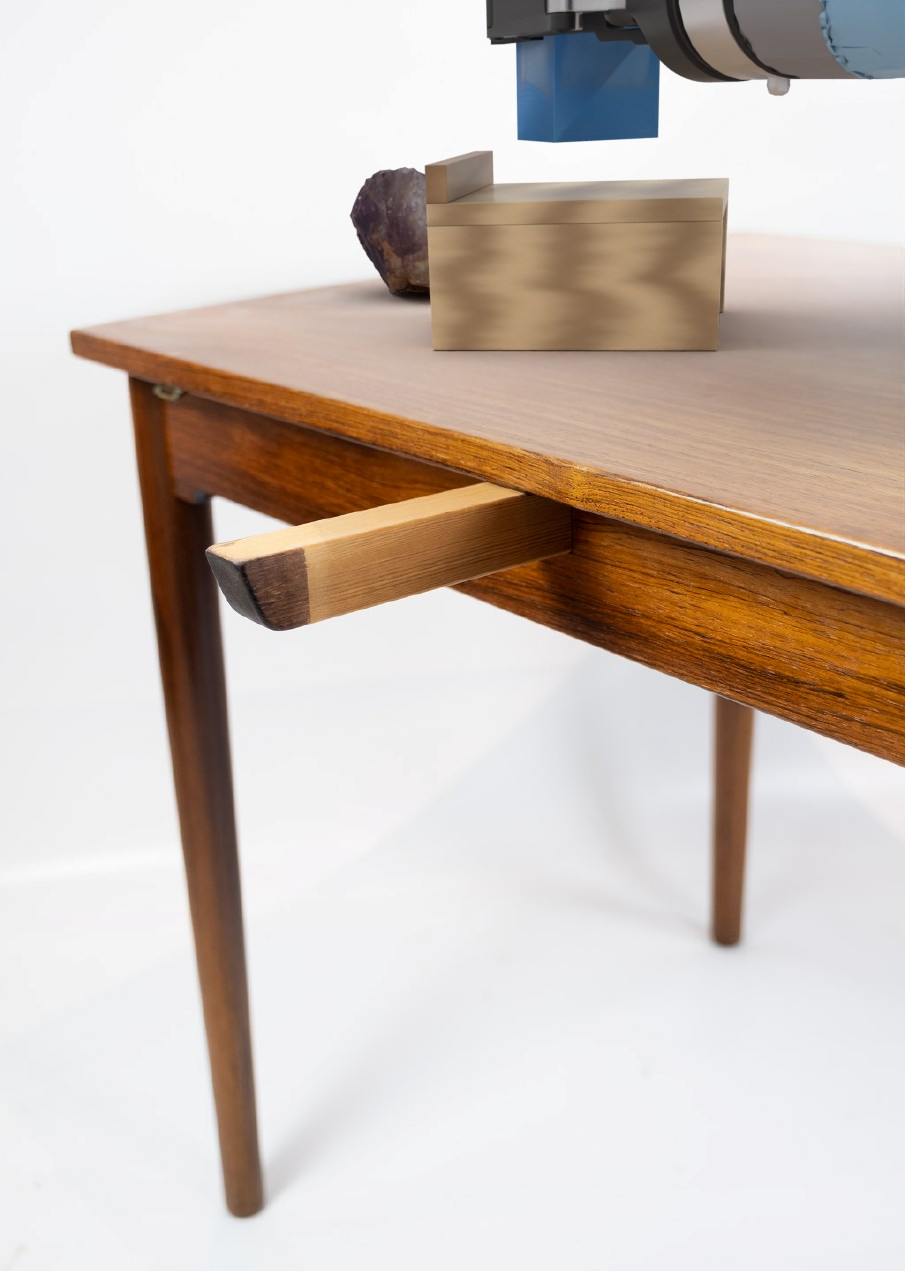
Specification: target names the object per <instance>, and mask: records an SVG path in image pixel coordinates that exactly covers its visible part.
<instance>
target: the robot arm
mask: <svg viewBox="0 0 905 1271" xmlns="http://www.w3.org/2000/svg"><path fill="white" fill-rule="evenodd" d="M485 11H486V12H485V15H486V16H485V17H486V19H485V20H486V22H485V23H486V24H485V25H486V39H489V41H490V46H494V45H495V46H497V45H498V46H499V45H501V46H502V45H511V44H516V43H520V42H529V41H538V40H544V38H543V36H554V35H567V34H580V33H593V32H594V33H595V35H596V37H597V39H598V40H599V41H601V42H612V41H632V42H633V43H634V44H636V45H649V46H650V47H651V49H652V51H653V52H654V53H655V55H656V56H657V57H658V59H659V60H660V63H662V64H663V65H664V66H665V68H667V69H668V70H670V71H671V72H673V73H674V74H676V75H678V76H679V77H682V78H684V79H686V80H690V81H692V82H697V83H703V84H704V83H708V84H709V83H712V84H713V83H740V82H748V81H765V80H766V88H767V92H768V94H769V95H772V96H775V97H783V96H785V95H786V94H788V93H789V91H790V88H791V80H870V81H871V80H895V79H905V0H485ZM624 26H625V27H640V28H632V29H625V27H624Z"/></svg>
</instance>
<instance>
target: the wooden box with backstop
mask: <svg viewBox="0 0 905 1271" xmlns="http://www.w3.org/2000/svg"><path fill="white" fill-rule="evenodd" d="M424 174H425V187H426V203H427V205H426V208H427V226H428V227H427V232H428V255H429V278H430V293H429V296H430V298H429V300H430V321H431V343H432V346H431V347H432V350H433V351H716V352H717V351H718V349H719V332H720V331H719V330H720V313H723V312H724V310H725V295H726V294H725V292H726V268H727V243H728V242H727V240H728V215H729V194H730V193H729V192H730V190H729V189H730V178H729V177H710V178H709V177H707V178H705V177H704V178H703V177H702V178H701V177H700V178H669V179H668V178H667V179H665V178H664V179H628V180H627V179H626V180H592V181H591V180H590V181H589V180H586V181H585V180H584V181H547V182H545V181H544V182H511V183H510V182H509V183H508V182H507V183H505V182H504V183H494V181H495V180H494V151H493V150H474V151H471V152H470V151H469V152H467V153H464V154H463V153H462V154H459V155H456V156H452V157H449V158H445V159H443V160H439V161H435V162H431V163H428V164H425V165H424Z"/></svg>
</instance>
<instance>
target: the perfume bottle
mask: <svg viewBox="0 0 905 1271" xmlns="http://www.w3.org/2000/svg"><path fill="white" fill-rule="evenodd" d="M624 27H625V26H624ZM632 28H640V27H625V29H632ZM543 38H544V40H538V41H529V42H520V43H515V58H516V59H515V68H516V69H515V70H516V133H517V135H516V136H517V137H516V138H517V141H525V142H526V141H527V142H537V143H538V142H539V143H551V144H557V143H558V144H559V143H560V144H561V143H579V142H601V141H618V140H619V141H621V140H637V139H638V140H641V139H658V138H659V121H660V120H659V118H660V80H661V79H660V78H661V76H660V75H661V61H660V60H659V59H658V57H657V56H656V55H655V53H654V52H653V51H652V49H651V47H650V46H649V45H636V44H634V43H633V42H632V41H612V42H601V41H599V40H598V39H597V37H596V35H595V33H594V32H593V33H580V34H567V35H554V36H543Z"/></svg>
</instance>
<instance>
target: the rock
mask: <svg viewBox="0 0 905 1271" xmlns="http://www.w3.org/2000/svg"><path fill="white" fill-rule="evenodd" d="M426 205H427V203H426V187H425V173H423V172H421V171H418V170H417V169H416V168H415V167H410V168H408V167H407V166H403V167H399V168H397V169H389V168H388V169H381V170H378V171H376V172H375V173H373V174H372V175H371V177H367V178H365V181H364V183H363V185H362V186H361V187H360V190H359V191H358V193H357V195H356V197H355V200H354V202H353V204H352V208H351V211H350V214H349V218H350V219H351V223H352V225H353V227H354V229H355V230H356V238H357V240H358V241H359V244H360V246H361V247H362V248H361V249H362V250H363V251H364V252H365V256H367V258H368V259H369V260H370V262H371V263H372V264H373V267H374V269H375V270H376V271H377V273H378V274H379V276H380V278H381V280H382V281H383V283H384V284H385V285H386V287H387V288H388V291H389V293H390V294H391V295H397V294H399V293H402V292H406V291H411V292H414V293H424V294H430V278H429V255H428V232H427V227H428V226H427V208H426Z"/></svg>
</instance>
